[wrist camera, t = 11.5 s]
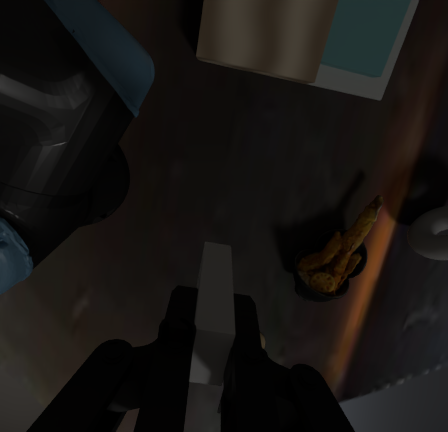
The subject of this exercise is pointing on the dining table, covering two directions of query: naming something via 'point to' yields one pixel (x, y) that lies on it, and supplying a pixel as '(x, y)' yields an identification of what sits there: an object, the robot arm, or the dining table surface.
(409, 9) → the mat
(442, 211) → the donut
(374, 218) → the fried shrimp in bowl
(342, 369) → the dining table surface
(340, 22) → the teal block
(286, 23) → the serving board
